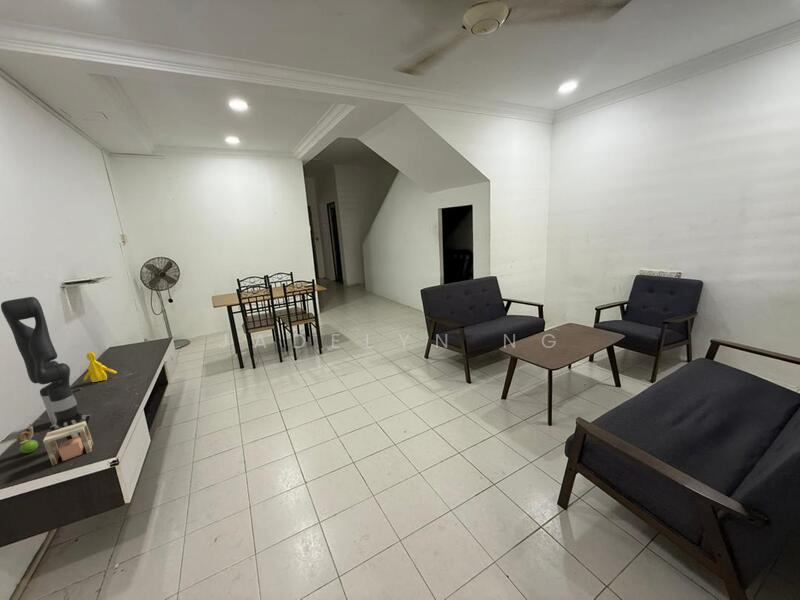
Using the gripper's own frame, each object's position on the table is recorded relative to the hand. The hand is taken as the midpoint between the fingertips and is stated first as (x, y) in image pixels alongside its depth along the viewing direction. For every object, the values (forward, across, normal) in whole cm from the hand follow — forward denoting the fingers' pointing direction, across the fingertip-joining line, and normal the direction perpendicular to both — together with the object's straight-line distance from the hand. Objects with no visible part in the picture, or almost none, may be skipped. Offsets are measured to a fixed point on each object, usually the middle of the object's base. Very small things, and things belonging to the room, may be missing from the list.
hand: (76, 439), depth 147 cm
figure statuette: (+2, -1, -85) cm, 85 cm away
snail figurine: (+2, +16, -7) cm, 18 cm away
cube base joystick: (+2, 0, +6) cm, 6 cm away
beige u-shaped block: (+2, 0, +11) cm, 11 cm away
